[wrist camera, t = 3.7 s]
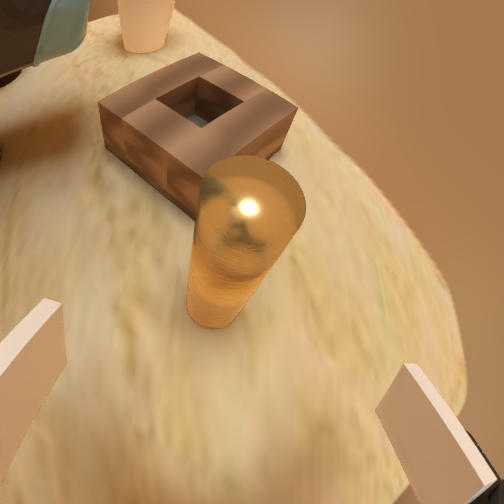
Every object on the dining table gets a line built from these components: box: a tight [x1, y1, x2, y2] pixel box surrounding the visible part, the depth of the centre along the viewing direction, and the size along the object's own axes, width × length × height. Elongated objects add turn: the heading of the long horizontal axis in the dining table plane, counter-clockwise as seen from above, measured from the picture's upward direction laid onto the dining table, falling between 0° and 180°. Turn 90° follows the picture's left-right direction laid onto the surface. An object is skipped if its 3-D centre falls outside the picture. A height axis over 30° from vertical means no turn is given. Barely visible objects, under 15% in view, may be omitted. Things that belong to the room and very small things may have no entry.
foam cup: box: [117, 0, 176, 53], centre depth 32 cm, size 10×9×13 cm
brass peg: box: [187, 156, 306, 329], centre depth 17 cm, size 4×4×14 cm
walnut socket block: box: [98, 53, 298, 220], centre depth 27 cm, size 13×13×6 cm
